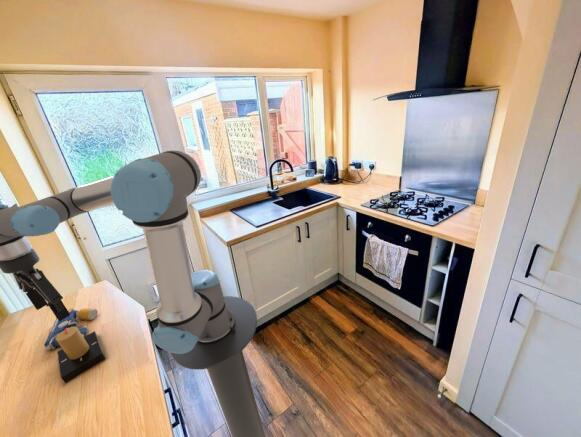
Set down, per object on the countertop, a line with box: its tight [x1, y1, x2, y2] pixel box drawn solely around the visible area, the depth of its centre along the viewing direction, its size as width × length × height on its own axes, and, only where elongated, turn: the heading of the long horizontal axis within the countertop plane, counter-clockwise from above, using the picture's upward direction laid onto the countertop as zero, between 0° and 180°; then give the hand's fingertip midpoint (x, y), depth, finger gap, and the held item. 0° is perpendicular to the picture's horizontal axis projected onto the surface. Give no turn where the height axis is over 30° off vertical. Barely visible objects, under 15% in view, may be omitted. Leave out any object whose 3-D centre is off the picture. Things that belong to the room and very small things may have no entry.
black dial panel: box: [57, 330, 107, 384], centre depth 85 cm, size 14×11×3 cm
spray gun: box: [44, 308, 99, 351], centre depth 98 cm, size 21×4×15 cm
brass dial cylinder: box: [56, 326, 89, 360], centre depth 82 cm, size 6×6×9 cm
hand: (53, 312), depth 76 cm, fingers open, 13 cm apart
